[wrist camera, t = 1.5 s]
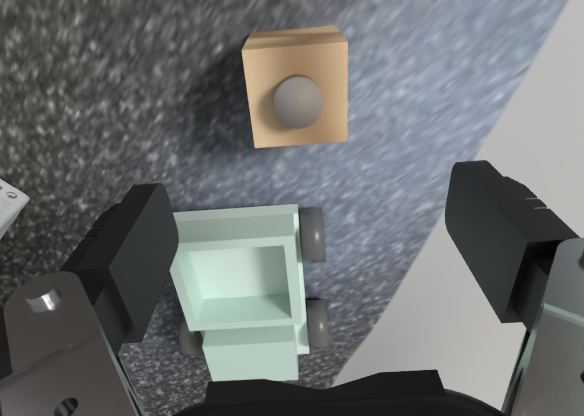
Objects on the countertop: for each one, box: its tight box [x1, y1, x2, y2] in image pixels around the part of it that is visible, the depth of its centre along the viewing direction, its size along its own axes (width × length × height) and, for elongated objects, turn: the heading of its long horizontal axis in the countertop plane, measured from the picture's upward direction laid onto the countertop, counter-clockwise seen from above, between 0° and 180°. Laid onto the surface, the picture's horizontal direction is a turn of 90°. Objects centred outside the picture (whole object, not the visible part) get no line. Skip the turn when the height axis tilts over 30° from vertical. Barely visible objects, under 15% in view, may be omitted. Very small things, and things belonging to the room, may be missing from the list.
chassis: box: [169, 204, 329, 381], centre depth 30 cm, size 12×15×6 cm
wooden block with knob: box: [242, 26, 348, 148], centre depth 21 cm, size 5×5×6 cm
